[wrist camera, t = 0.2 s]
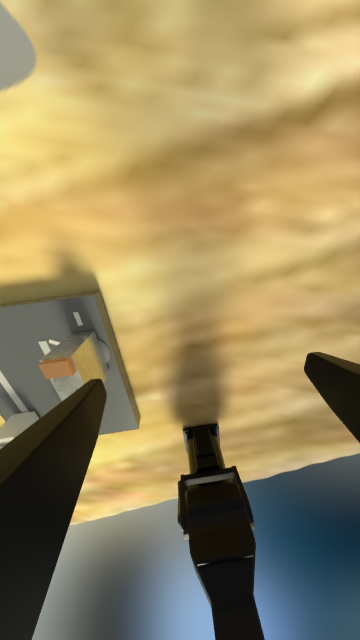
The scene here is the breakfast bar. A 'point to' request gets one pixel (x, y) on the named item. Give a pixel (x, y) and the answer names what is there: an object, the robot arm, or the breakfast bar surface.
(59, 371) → the dial
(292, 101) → the breakfast bar surface
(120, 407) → the console
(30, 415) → the fader
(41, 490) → the robot arm
